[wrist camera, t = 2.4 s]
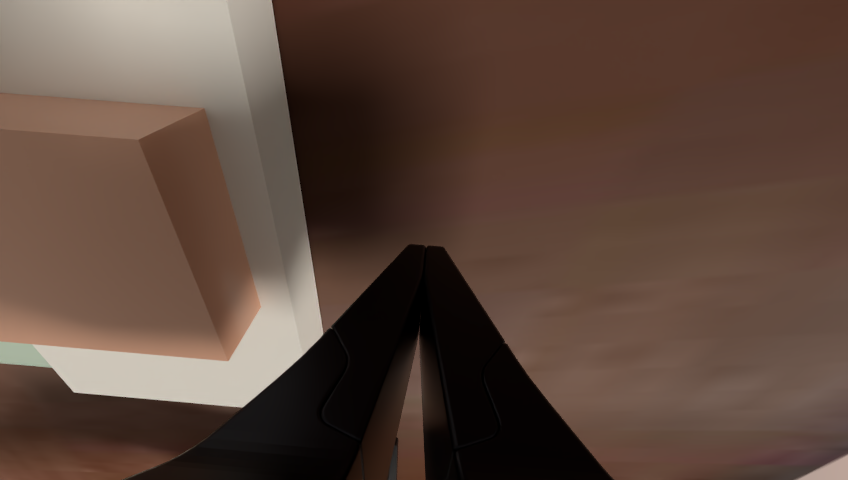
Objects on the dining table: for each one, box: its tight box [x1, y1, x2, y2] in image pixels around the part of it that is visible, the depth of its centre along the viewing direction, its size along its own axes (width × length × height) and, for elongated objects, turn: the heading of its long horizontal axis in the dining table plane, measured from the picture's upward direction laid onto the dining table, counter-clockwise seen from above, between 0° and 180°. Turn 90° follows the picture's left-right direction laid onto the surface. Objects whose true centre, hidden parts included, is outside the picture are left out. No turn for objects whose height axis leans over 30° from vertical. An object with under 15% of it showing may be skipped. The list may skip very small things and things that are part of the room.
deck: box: [0, 0, 323, 407], centre depth 10 cm, size 18×10×2 cm, turn 177°
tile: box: [0, 93, 261, 361], centre depth 9 cm, size 6×8×2 cm
